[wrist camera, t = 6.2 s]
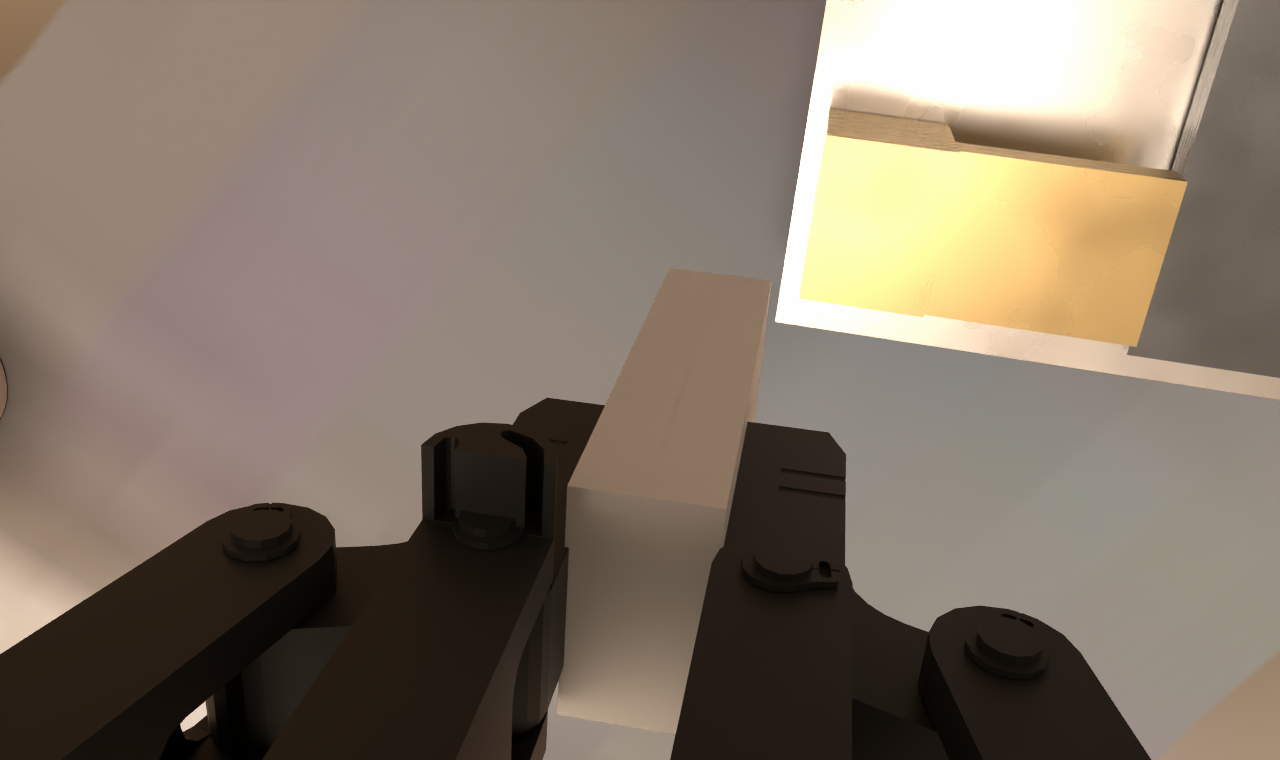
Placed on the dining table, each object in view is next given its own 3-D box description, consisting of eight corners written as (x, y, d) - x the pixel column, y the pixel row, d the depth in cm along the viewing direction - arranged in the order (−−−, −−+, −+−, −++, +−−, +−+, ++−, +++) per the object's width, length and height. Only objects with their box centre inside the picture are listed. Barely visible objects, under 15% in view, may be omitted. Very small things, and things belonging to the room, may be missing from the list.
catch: (829, 108, 28) (826, 135, 26) (1154, 151, 28) (1190, 184, 25) (804, 257, 30) (799, 298, 27) (1109, 301, 29) (1138, 350, 26)
